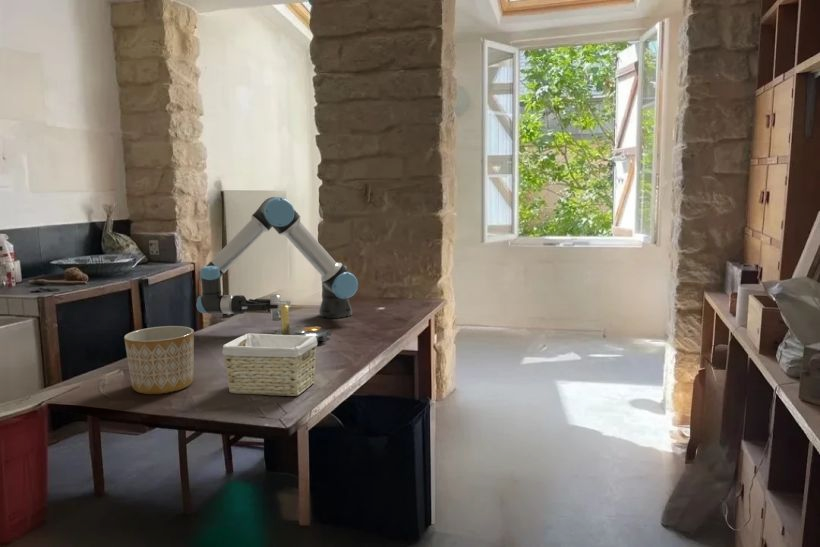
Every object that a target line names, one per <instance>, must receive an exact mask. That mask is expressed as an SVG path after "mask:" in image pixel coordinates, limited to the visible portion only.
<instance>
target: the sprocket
mask: <svg viewBox="0 0 820 547" xmlns="http://www.w3.org/2000/svg"><path fill="white" fill-rule="evenodd" d="M289 310H290V307H289V305H281V320H280V321H281V322H280V324H281V328H278V329H276V330H274V334H273V333H272V335H301V336H315V337H316V338H317V342H325V341H327V340H328V336H330V337H331V336H332V331H331V330H330V329H325V328H322V327H321V326H293V327H291V328H290V311H289Z"/></svg>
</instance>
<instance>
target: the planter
mask: <svg viewBox="0 0 820 547" xmlns="http://www.w3.org/2000/svg"><path fill="white" fill-rule="evenodd" d="M194 333H195V330H194V329H193V328H191V327H189V326H181V325H179V326H178V325H166V326H165V325H164V326H154V327H147V328H143V329H142V328H141V329H138V330H133V331H131V332H128V333H126V334H125V335H124V337H123V340H124V344H125V351H126V358H127V364H128V370H129V376H130V382H131V383H130V384H131V387H132V389H133V390H134V391H135V392H137V393H139V394H144V395H163V393H164V394H169V392H170V393H174V391H175V392H179V391H181V390H183V389H185V388H187V387H189V386H190V385H191V384H192V382H193V381H194V356H195V355H194V351H195V350H194V348H195V347H194V345H195V344H194V343H195V341H194V340H195V337H194V336H195V334H194Z"/></svg>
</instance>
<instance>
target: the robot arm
mask: <svg viewBox="0 0 820 547" xmlns="http://www.w3.org/2000/svg"><path fill="white" fill-rule="evenodd" d="M272 228H273V229H274V230H275V231H276V232H277V234H278V235H283V236H285V237H286V238H287V239H288V240H289V241H290V242H291V244H293V246H294V247H295V248H296V249H297V250H298V251H299V252H300V253H301V255H302V256H303V257H304V258H305V259H306V261H307V262H309V263H310V265H312V267H313V268H314V269H315V270H316V271H317V272H318V273H319V274H320V275H321V277H320V278H321V279H320V280H321V289H322V290H321V293H322V294H321V295H322V300H321V303H320V307H319V311H318V316H319V317H320V316H321V318H324V317H326V318H327V319H340V318H341V317H342V318H346V316H348V317H350V315H351V316H352V315H353V310H352V307H351V304H350V300H349V299H350V298H352V297H353V296H354V295H355V294H356V292H358V288H359V282H358V278H357V277H356V276H355V274H354V273H351V272H350V271H349V270H348V267H347V265H344V264H343V263H342V262H337V261H336V260H334V258H333V257H332V256H331V255H330V253H328V251H327V250H326V248H324V247H323V246H322V245H321V243H320V242H319V241H318V240H317V239H316V237H314V236H313V234H312V233H311V232H310V231H309V229H307V228H306V226H305V225H304V224H303V223H302V222H301V215H300V214H299V213H298V212H297V211H296V210H295V208H294V206H293V204H292V203H291V202H290V201H289V200H288V199H286V198H284V197H280V196H277V197H275V196H273V197H268V198H266V199H264V201H262V203H261V204H260V205H259V207H258V208H257V209H256V210H255V212H254V213H252V215H251V218H250V220H249V222H247V223H246V224H245V226H243V228H241V229H240V231H238V233H236V235H235V236H234V237H233V238H232V239H231V240H230V241H229V242H228V243H227V244H226V245H225V246H224V247H223V248H222V249H221V250H220V251H219V252H218V253H217V255H215V256H214V257H213V259H211V261H209V263H208V264H206V265H205V266H202V267H201V268H200V271H199V273H198V278H199V281H200V282H201V291H202V292H201V295H199V296H198V297H197V299H196V309H197V311H198V312H199V313H201V314H208V315H209V314H210V315H212V314H214V315H215V314H226V315H228V316H230V315H231V314H235V315H238V314H239V315H243V314H245V312H246V311H247V312H248V311H249V312H251V311H258V312H261V311H262V312H264V311H267V312H271V310H281V305H289V308H292V300H286V299H284V300H282V299H280V300H281V303H270V298H255V299H254V298H249V299H247V298H246V297H245V295H241V294H238V295H234V294H233V295H232V294H228V295H227V294H223V295H222V287H221V286H222V285H221V277H222V276H223V275H224V274H225V273H226V272H227V270H229V269H230V268H231V267H232V266H233V264H234V263H235V262H236V261H238V260H239V258H241V256H242V255H243V254H244V253H245V252H247V251H248V249H249V248H250V247H251V246H253V244H254V243H255V242H256V241H257V239H259V238H260V237H261V236H262V235H263V234H264V232H269V231H270V230H271V229H272ZM342 318H341V319H342Z"/></svg>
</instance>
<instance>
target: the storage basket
mask: <svg viewBox="0 0 820 547" xmlns="http://www.w3.org/2000/svg"><path fill="white" fill-rule="evenodd" d="M272 334H273V333H272ZM272 334H270V333H267V334H266V333H253V332H249V333H245V334H243V335H241V336H239V337H237V338H235V339H232V340H231V341H229V342H227V343H225V344H223V345H222V351H221V352H222V355H223V357H224V361H225V372H226V375H227V376H226V379H227V381H228V382H227V383H228V384H227V385H228V392H229V393H231V394H239V395H240V394H245V395H261V396H263V395H265V396H281V397H283V396H284V397H285V396H287V397H296V396H300V395H301V394H303V392H305V391H306V390H307V389H309V387H311V386H312V385H313V384H314V383H315V376H316V354H317V346H318V341H317V338H316V337H315V336H301V335H272Z"/></svg>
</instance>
